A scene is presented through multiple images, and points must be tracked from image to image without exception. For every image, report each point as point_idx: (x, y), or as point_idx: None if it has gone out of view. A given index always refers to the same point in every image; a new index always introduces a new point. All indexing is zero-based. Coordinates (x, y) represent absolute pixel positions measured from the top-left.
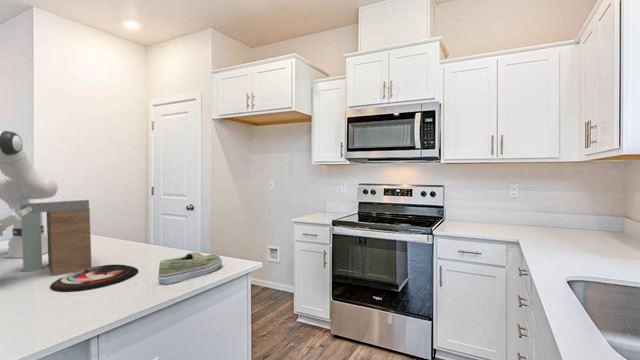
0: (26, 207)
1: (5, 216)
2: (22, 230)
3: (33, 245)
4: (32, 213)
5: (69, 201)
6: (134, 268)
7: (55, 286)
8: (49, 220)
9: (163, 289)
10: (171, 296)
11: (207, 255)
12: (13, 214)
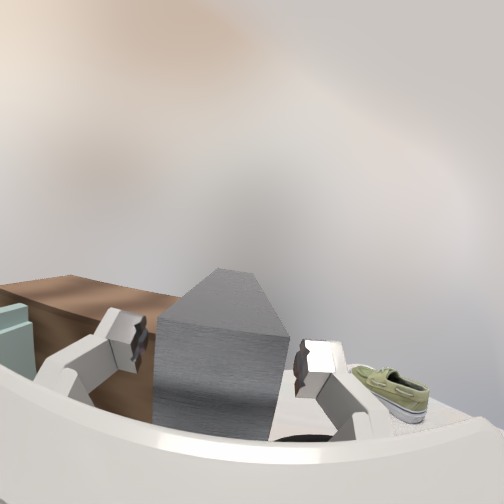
0: (309, 358)
1: (482, 489)
2: None
3: None
4: (9, 347)
5: (251, 279)
6: (322, 435)
7: None
8: (149, 393)
9: (441, 421)
10: (464, 415)
11: (358, 370)
12: (491, 428)
